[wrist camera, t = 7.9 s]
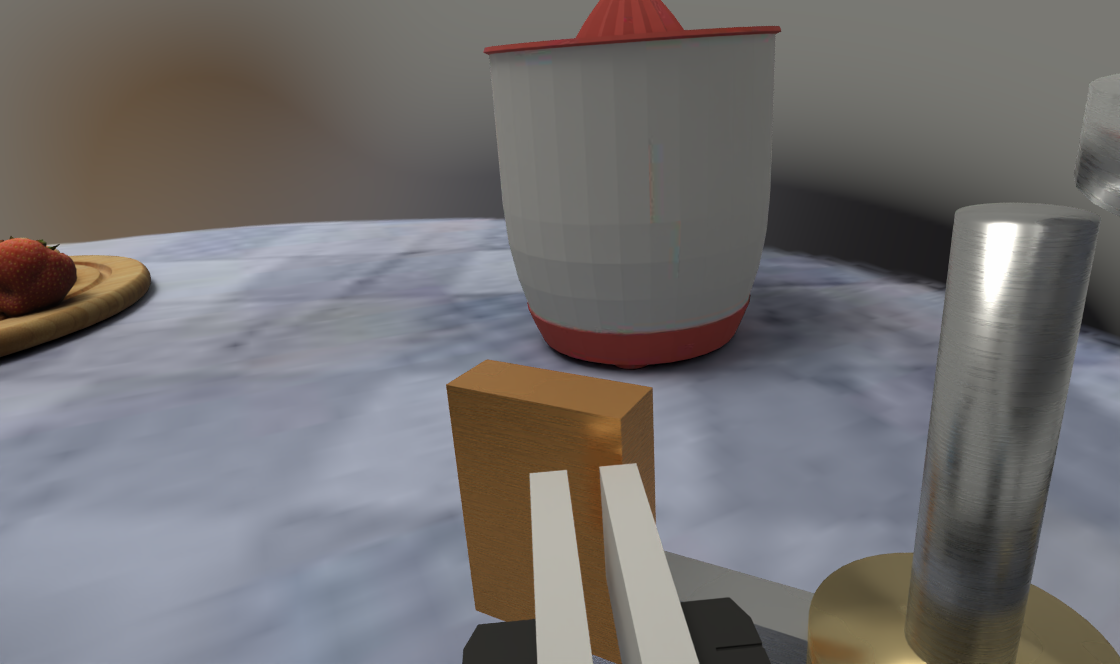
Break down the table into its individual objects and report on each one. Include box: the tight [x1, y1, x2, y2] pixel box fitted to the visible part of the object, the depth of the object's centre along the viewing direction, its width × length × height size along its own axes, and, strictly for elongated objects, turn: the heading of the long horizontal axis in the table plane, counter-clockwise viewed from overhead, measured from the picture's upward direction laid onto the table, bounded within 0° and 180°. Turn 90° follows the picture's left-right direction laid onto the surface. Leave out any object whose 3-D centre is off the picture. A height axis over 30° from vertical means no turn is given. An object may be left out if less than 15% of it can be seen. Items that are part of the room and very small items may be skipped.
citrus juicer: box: [484, 0, 781, 369], centre depth 42 cm, size 16×17×20 cm
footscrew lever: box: [446, 203, 1120, 664], centre depth 15 cm, size 13×5×13 cm, turn 60°
